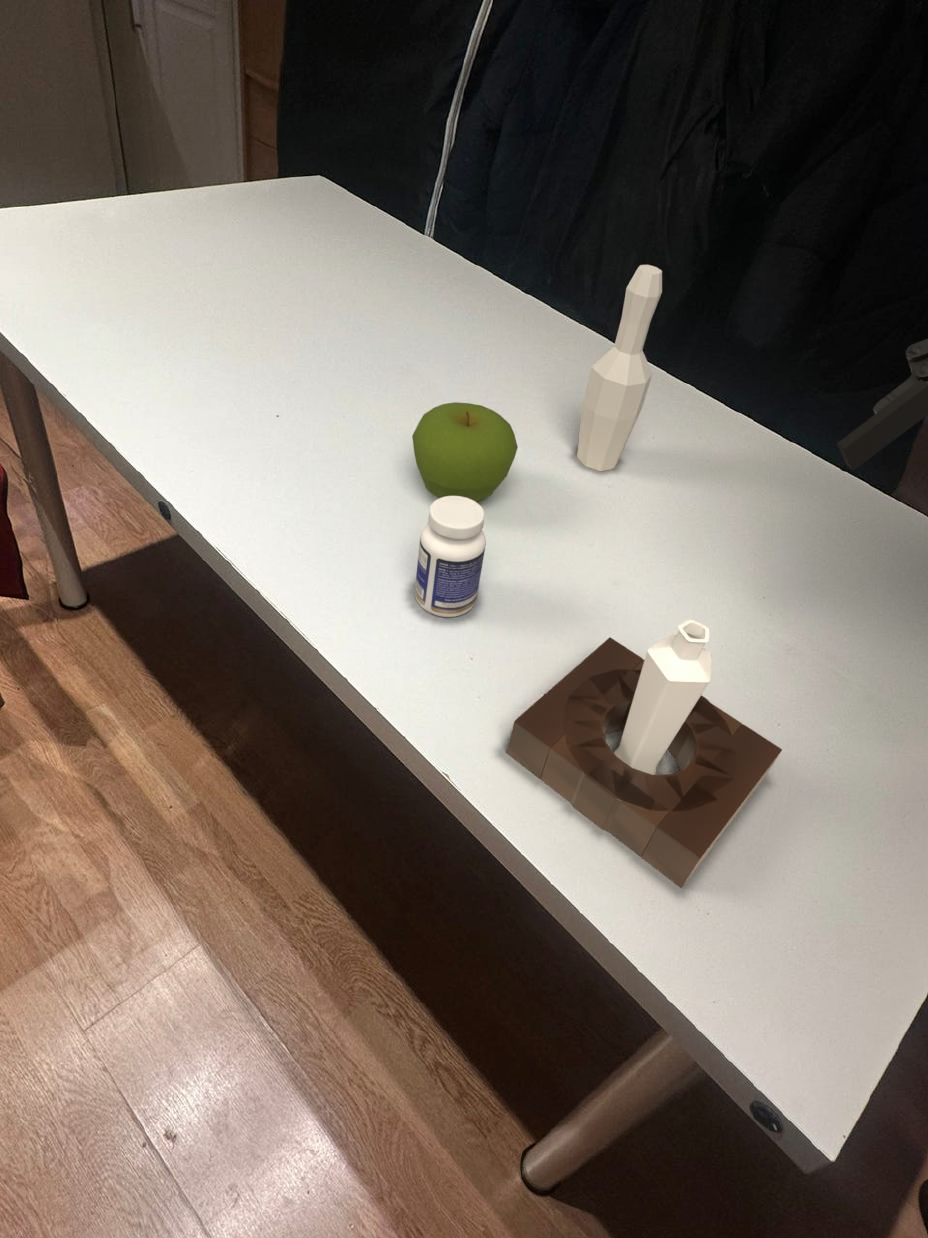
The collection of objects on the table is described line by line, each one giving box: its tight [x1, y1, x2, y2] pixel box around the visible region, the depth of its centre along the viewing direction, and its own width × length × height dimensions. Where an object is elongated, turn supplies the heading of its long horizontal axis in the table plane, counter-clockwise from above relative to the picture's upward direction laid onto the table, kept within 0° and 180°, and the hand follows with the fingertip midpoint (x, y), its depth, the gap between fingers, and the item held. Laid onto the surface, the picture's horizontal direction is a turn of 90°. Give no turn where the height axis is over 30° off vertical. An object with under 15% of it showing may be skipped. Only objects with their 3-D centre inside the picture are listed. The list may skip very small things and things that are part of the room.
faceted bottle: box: [576, 264, 663, 472], centre depth 88 cm, size 6×6×22 cm
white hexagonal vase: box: [613, 619, 712, 775], centre depth 59 cm, size 5×4×15 cm
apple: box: [411, 401, 519, 502], centre depth 84 cm, size 11×10×10 cm
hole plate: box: [505, 637, 783, 889], centre depth 63 cm, size 16×13×4 cm
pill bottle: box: [414, 496, 487, 618], centre depth 72 cm, size 6×6×10 cm
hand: (910, 516), depth 53 cm, fingers open, 13 cm apart
